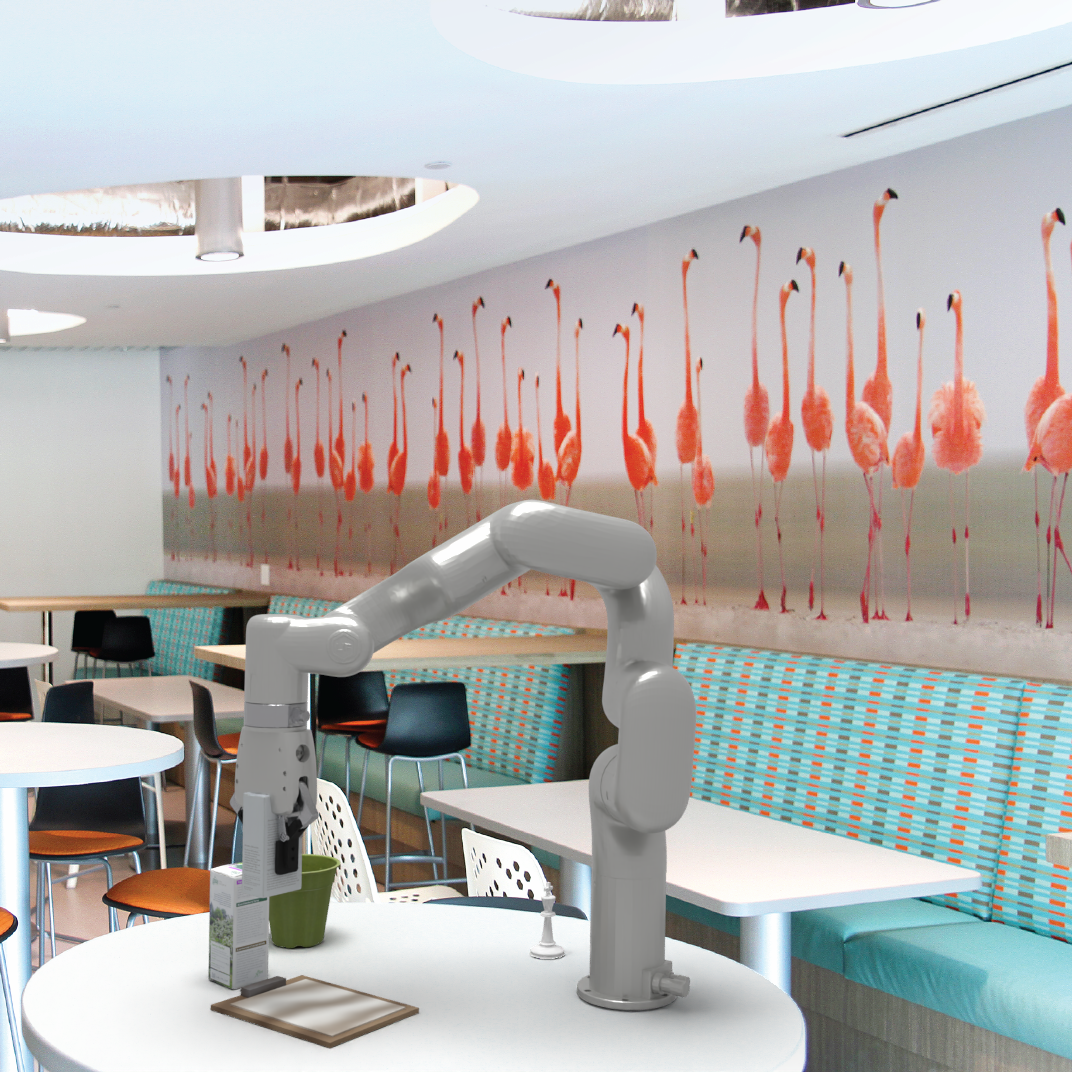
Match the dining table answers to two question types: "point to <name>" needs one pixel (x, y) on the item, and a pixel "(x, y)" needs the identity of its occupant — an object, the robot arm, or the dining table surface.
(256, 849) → the skincare box
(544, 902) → the chess piece
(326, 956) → the dining table surface
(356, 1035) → the clipboard
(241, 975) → the syrup box
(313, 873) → the plant pot
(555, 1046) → the dining table surface
